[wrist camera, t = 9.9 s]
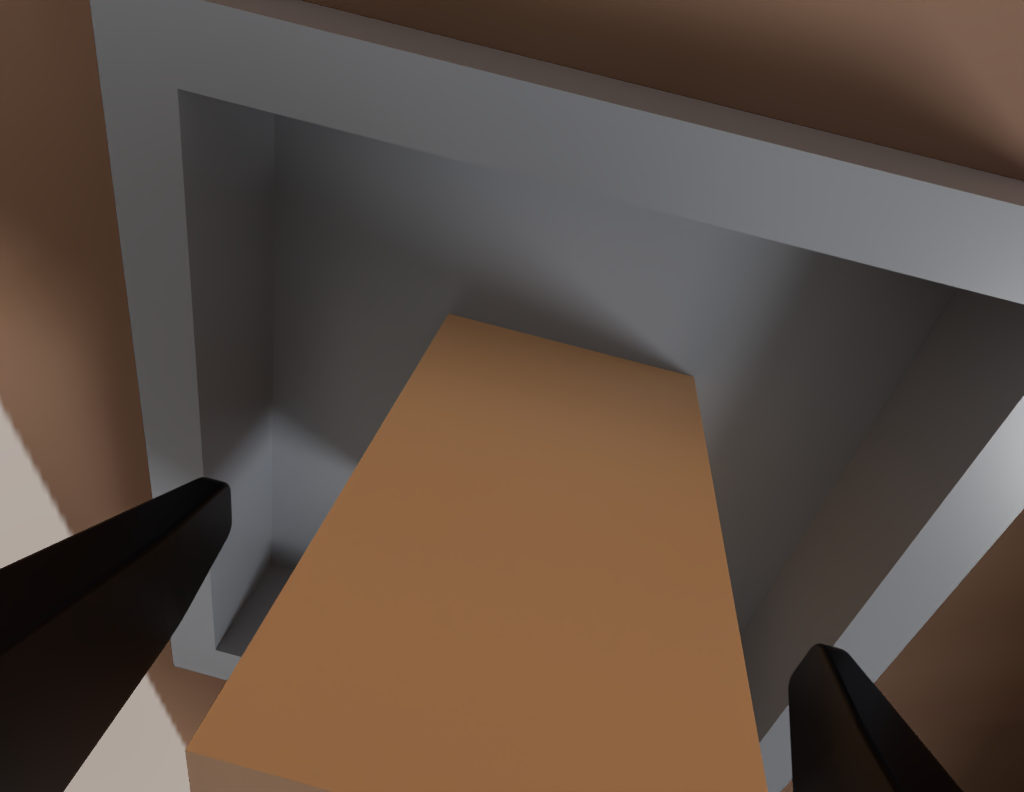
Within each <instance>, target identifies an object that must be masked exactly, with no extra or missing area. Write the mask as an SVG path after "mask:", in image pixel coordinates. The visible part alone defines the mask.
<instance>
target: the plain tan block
mask: <svg viewBox="0 0 1024 792" xmlns="http://www.w3.org/2000/svg"><path fill="white" fill-rule="evenodd" d="M185 752H186V760H187V768H188V775H189V782H190V790H191V792H768V789H767V783H766V778H765V772H764V767H763V761H762V755H761V750H760V744H759V739H758V733H757V727H756V722H755V716H754V711H753V705H752V699H751V694H750V688H749V682H748V677H747V671H746V666H745V660H744V654H743V649H742V643H741V638H740V632H739V626H738V621H737V615H736V610H735V604H734V598H733V593H732V587H731V581H730V576H729V570H728V565H727V559H726V553H725V548H724V542H723V537H722V531H721V525H720V520H719V514H718V509H717V503H716V497H715V492H714V486H713V480H712V475H711V469H710V464H709V458H708V452H707V447H706V441H705V436H704V430H703V424H702V419H701V413H700V408H699V402H698V396H697V391H696V385H695V380H694V377H693V376H689V375H685V374H681V373H677V372H673V371H669V370H665V369H662V368H658V367H654V366H650V365H646V364H642V363H638V362H634V361H631V360H627V359H623V358H619V357H615V356H611V355H607V354H603V353H599V352H596V351H592V350H588V349H584V348H580V347H576V346H572V345H568V344H565V343H561V342H557V341H553V340H549V339H545V338H541V337H537V336H534V335H530V334H526V333H522V332H518V331H514V330H510V329H506V328H502V327H499V326H495V325H491V324H487V323H483V322H479V321H475V320H471V319H468V318H464V317H460V316H456V315H452V314H448V315H447V317H446V319H445V320H444V322H443V324H442V325H441V327H440V329H439V330H438V332H437V334H436V335H435V337H434V339H433V340H432V342H431V344H430V345H429V347H428V349H427V350H426V352H425V354H424V355H423V357H422V359H421V360H420V362H419V364H418V365H417V367H416V369H415V370H414V372H413V374H412V375H411V377H410V379H409V380H408V382H407V383H406V385H405V387H404V388H403V390H402V392H401V393H400V395H399V397H398V398H397V400H396V402H395V403H394V405H393V407H392V408H391V410H390V412H389V413H388V415H387V417H386V418H385V420H384V422H383V423H382V425H381V427H380V428H379V430H378V432H377V433H376V435H375V437H374V438H373V440H372V442H371V443H370V445H369V447H368V448H367V450H366V451H365V453H364V455H363V456H362V458H361V460H360V461H359V463H358V465H357V466H356V468H355V470H354V471H353V473H352V475H351V476H350V478H349V480H348V481H347V483H346V485H345V486H344V488H343V490H342V491H341V493H340V495H339V496H338V498H337V500H336V501H335V503H334V505H333V506H332V508H331V510H330V511H329V513H328V515H327V516H326V518H325V519H324V521H323V523H322V524H321V526H320V528H319V529H318V531H317V533H316V534H315V536H314V538H313V539H312V541H311V543H310V544H309V546H308V548H307V549H306V551H305V553H304V554H303V556H302V558H301V559H300V561H299V563H298V564H297V566H296V568H295V569H294V571H293V573H292V574H291V576H290V578H289V579H288V581H287V583H286V584H285V586H284V587H283V589H282V591H281V592H280V594H279V596H278V597H277V599H276V601H275V602H274V604H273V606H272V607H271V609H270V611H269V612H268V614H267V616H266V617H265V619H264V621H263V622H262V624H261V626H260V627H259V629H258V631H257V632H256V634H255V636H254V637H253V639H252V641H251V642H250V644H249V646H248V647H247V649H246V651H245V652H244V654H243V655H242V657H241V659H240V660H239V662H238V664H237V665H236V667H235V669H234V670H233V672H232V674H231V675H230V677H229V679H228V680H227V682H226V684H225V685H224V687H223V689H222V690H221V692H220V694H219V695H218V697H217V699H216V700H215V702H214V704H213V705H212V707H211V709H210V710H209V712H208V714H207V715H206V717H205V719H204V720H203V722H202V723H201V725H200V727H199V728H198V730H197V732H196V733H195V735H194V737H193V738H192V740H191V742H190V743H189V745H188V747H187V748H186V750H185Z"/></svg>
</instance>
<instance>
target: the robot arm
mask: <svg viewBox="0 0 1024 792" xmlns="http://www.w3.org/2000/svg"><path fill="white" fill-rule="evenodd" d="M231 527H232V502H231V488H230V486H229V484H228V483H226V482H223V481H219V480H216V479H212V478H208V477H200V478H197V479H195V480H192V481H190V482H188V483H186V484H184V485H182V486H179V487H177V488H175V489H173V490H171V491H168V492H166V493H164V494H162V495H160V496H158V497H155V498H153V499H151V500H149V501H147V502H145V503H142V504H140V505H138V506H136V507H134V508H131V509H129V510H127V511H125V512H123V513H121V514H118V515H116V516H114V517H112V518H110V519H108V520H105V521H103V522H101V523H99V524H97V525H95V526H92V527H90V528H88V529H86V530H84V531H81V532H79V533H77V534H75V535H73V536H71V537H68V538H66V539H64V540H62V541H60V542H58V543H55V544H53V545H51V546H49V547H47V548H44V549H42V550H40V551H38V552H36V553H34V554H32V555H29V556H27V557H25V558H23V559H21V560H18V561H16V562H14V563H12V564H10V565H8V566H6V567H3V568H1V569H0V792H64V790H65V789H66V787H67V786H68V784H69V783H70V781H71V780H72V779H73V777H74V776H75V774H76V773H77V771H78V770H79V769H80V767H81V766H82V764H83V763H84V761H85V760H86V759H87V757H88V756H89V754H90V753H91V751H92V750H93V749H94V747H95V746H96V744H97V743H98V741H99V740H100V739H101V737H102V736H103V734H104V733H105V731H106V730H107V729H108V727H109V726H110V724H111V723H112V721H113V720H114V718H115V717H116V715H117V714H118V713H119V711H120V710H121V708H122V707H123V706H124V704H125V703H126V701H127V700H128V698H129V697H130V696H131V694H132V693H133V691H134V690H135V688H136V687H137V686H138V684H139V683H140V681H141V680H142V678H143V677H144V676H145V674H146V673H147V671H148V670H149V668H150V667H151V666H152V664H153V663H154V661H155V660H156V658H157V657H158V656H159V654H160V653H161V651H162V650H163V648H164V647H165V645H166V644H167V643H168V641H169V640H170V638H171V637H172V635H173V634H174V632H175V631H176V629H177V628H178V626H179V625H180V623H181V621H182V619H183V618H184V616H185V614H186V613H187V611H188V609H189V607H190V605H191V604H192V602H193V600H194V598H195V596H196V594H197V593H198V591H199V589H200V587H201V585H202V583H203V582H204V580H205V578H206V576H207V574H208V573H209V571H210V569H211V567H212V565H213V563H214V562H215V560H216V558H217V556H218V554H219V553H220V551H221V549H222V547H223V545H224V543H225V542H226V540H227V538H228V536H229V533H230V531H231ZM788 701H789V722H790V742H791V763H792V782H793V792H963V791H962V790H961V789H960V787H959V786H958V785H957V784H956V783H955V781H954V780H953V779H952V778H951V776H950V775H949V774H948V773H947V772H946V770H945V769H944V768H943V767H942V766H941V764H940V763H939V762H938V761H937V759H936V758H935V757H934V756H933V755H932V753H931V752H930V751H929V750H928V749H927V747H926V746H925V745H924V744H923V743H922V741H921V740H920V739H919V738H918V736H917V735H916V734H915V733H914V732H913V730H912V729H911V728H910V727H909V726H908V724H907V723H906V722H905V721H904V719H903V718H902V717H901V716H900V715H899V713H898V712H897V711H896V710H895V709H894V707H893V706H892V705H891V704H890V703H889V701H888V700H887V699H886V698H885V696H884V695H883V694H882V693H881V692H880V690H879V689H878V688H877V687H876V686H875V684H874V683H873V682H872V681H871V679H870V678H869V677H868V676H867V675H866V673H865V672H864V671H863V670H862V669H861V667H860V666H859V665H858V664H857V663H856V661H855V660H854V659H853V658H852V656H851V655H850V654H849V653H848V652H846V651H845V650H843V649H840V648H837V647H833V646H829V645H826V644H822V643H817V644H815V645H813V646H812V647H811V648H810V650H809V651H808V652H807V654H806V655H805V657H804V658H803V659H802V661H801V662H800V663H799V665H798V666H797V667H796V669H795V670H794V672H793V673H792V675H791V677H790V680H789V685H788Z"/></svg>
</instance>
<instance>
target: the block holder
mask: <svg viewBox="0 0 1024 792" xmlns="http://www.w3.org/2000/svg"><path fill="white" fill-rule="evenodd" d="M90 7H91V15H92V23H93V30H94V38H95V46H96V54H97V62H98V70H99V78H100V86H101V94H102V102H103V110H104V117H105V125H106V133H107V141H108V149H109V157H110V165H111V173H112V181H113V189H114V197H115V204H116V212H117V220H118V228H119V236H120V244H121V252H122V260H123V268H124V276H125V284H126V291H127V299H128V307H129V315H130V323H131V331H132V339H133V347H134V355H135V363H136V370H137V378H138V386H139V394H140V402H141V410H142V418H143V426H144V434H145V442H146V450H147V457H148V465H149V473H150V481H151V489H152V497H153V498H155V497H158V496H160V495H162V494H164V493H166V492H168V491H171V490H173V489H175V488H177V487H179V486H182V485H184V484H186V483H188V482H190V481H192V480H195V479H197V478H200V477H208V478H212V479H216V480H219V481H223V482H226V483H228V484H229V486H230V488H231V502H232V527H231V531H230V533H229V536H228V538H227V540H226V542H225V543H224V545H223V547H222V549H221V551H220V553H219V554H218V556H217V558H216V560H215V562H214V563H213V565H212V567H211V569H210V571H209V573H208V574H207V576H206V578H205V580H204V582H203V583H202V585H201V587H200V589H199V591H198V593H197V594H196V596H195V598H194V600H193V602H192V604H191V605H190V607H189V609H188V611H187V613H186V614H185V616H184V618H183V619H182V621H181V623H180V625H179V626H178V628H177V629H176V631H175V632H174V634H173V635H172V637H171V638H170V639H171V647H172V655H173V663H174V666H176V667H180V668H183V669H187V670H191V671H194V672H198V673H201V674H205V675H209V676H212V677H216V678H219V679H223V680H228V679H229V677H230V675H231V674H232V672H233V670H234V669H235V667H236V665H237V664H238V662H239V660H240V659H241V657H242V655H243V654H244V652H245V651H246V649H247V647H248V646H249V644H250V642H251V641H252V639H253V637H254V636H255V634H256V632H257V631H258V629H259V627H260V626H261V624H262V622H263V621H264V619H265V617H266V616H267V614H268V612H269V611H270V609H271V607H272V606H273V604H274V602H275V601H276V599H277V597H278V596H279V594H280V592H281V591H282V589H283V587H284V586H285V584H286V583H287V581H288V579H289V578H290V576H291V574H292V573H293V571H294V569H295V568H296V566H297V564H298V563H299V561H300V559H301V558H302V556H303V554H304V553H305V551H306V549H307V548H308V546H309V544H310V543H311V541H312V539H313V538H314V536H315V534H316V533H317V531H318V529H319V528H320V526H321V524H322V523H323V521H324V519H325V518H326V516H327V515H328V513H329V511H330V510H331V508H332V506H333V505H334V503H335V501H336V500H337V498H338V496H339V495H340V493H341V491H342V490H343V488H344V486H345V485H346V483H347V481H348V480H349V478H350V476H351V475H352V473H353V471H354V470H355V468H356V466H357V465H358V463H359V461H360V460H361V458H362V456H363V455H364V453H365V451H366V450H367V448H368V447H369V445H370V443H371V442H372V440H373V438H374V437H375V435H376V433H377V432H378V430H379V428H380V427H381V425H382V423H383V422H384V420H385V418H386V417H387V415H388V413H389V412H390V410H391V408H392V407H393V405H394V403H395V402H396V400H397V398H398V397H399V395H400V393H401V392H402V390H403V388H404V387H405V385H406V383H407V382H408V380H409V379H410V377H411V375H412V374H413V372H414V370H415V369H416V367H417V365H418V364H419V362H420V360H421V359H422V357H423V355H424V354H425V352H426V350H427V349H428V347H429V345H430V344H431V342H432V340H433V339H434V337H435V335H436V334H437V332H438V330H439V329H440V327H441V325H442V324H443V322H444V320H445V319H446V317H447V315H448V314H452V315H456V316H460V317H464V318H468V319H471V320H475V321H479V322H483V323H487V324H491V325H495V326H499V327H502V328H506V329H510V330H514V331H518V332H522V333H526V334H530V335H534V336H537V337H541V338H545V339H549V340H553V341H557V342H561V343H565V344H568V345H572V346H576V347H580V348H584V349H588V350H592V351H596V352H599V353H603V354H607V355H611V356H615V357H619V358H623V359H627V360H631V361H634V362H638V363H642V364H646V365H650V366H654V367H658V368H662V369H665V370H669V371H673V372H677V373H681V374H685V375H689V376H693V377H694V380H695V385H696V391H697V396H698V402H699V408H700V413H701V419H702V424H703V430H704V436H705V441H706V447H707V452H708V458H709V464H710V469H711V475H712V480H713V486H714V492H715V497H716V503H717V509H718V514H719V520H720V525H721V531H722V537H723V542H724V548H725V553H726V559H727V565H728V570H729V576H730V581H731V587H732V593H733V598H734V604H735V610H736V615H737V621H738V626H739V632H740V638H741V643H742V649H743V654H744V660H745V666H746V671H747V677H748V682H749V688H750V694H751V699H752V705H753V711H754V716H755V722H756V727H757V733H758V739H759V744H760V750H761V755H762V761H763V767H764V772H765V778H766V783H767V789H768V792H781V791H782V790H783V788H784V787H785V786H786V785H787V784H788V783H789V781H790V780H791V779H792V763H791V742H790V722H789V701H788V685H789V680H790V677H791V675H792V673H793V672H794V670H795V669H796V667H797V666H798V665H799V663H800V662H801V661H802V659H803V658H804V657H805V655H806V654H807V652H808V651H809V650H810V648H811V647H812V646H813V645H815V644H817V643H822V644H826V645H829V646H833V647H837V648H840V649H843V650H845V651H846V652H848V653H849V654H850V655H851V656H852V658H853V659H854V660H855V661H856V663H857V664H858V665H859V666H860V667H861V669H862V670H863V671H864V672H865V673H866V675H867V676H868V677H869V678H870V679H871V681H872V682H873V683H874V682H875V681H876V680H877V679H878V678H879V677H880V675H881V674H882V673H883V672H884V671H885V670H886V668H887V667H888V666H889V665H890V664H891V663H892V661H893V660H894V659H895V658H896V657H897V656H898V654H899V653H900V652H901V651H902V650H903V649H904V647H905V646H906V645H907V644H908V643H909V642H910V640H911V639H912V638H913V637H914V636H915V635H916V633H917V632H918V631H919V630H920V629H921V628H922V626H923V625H924V624H925V623H926V622H927V621H928V619H929V618H930V617H931V616H932V615H933V614H934V612H935V611H936V610H937V609H938V608H939V607H940V605H941V604H942V603H943V602H944V601H945V600H946V598H947V597H948V596H949V595H950V594H951V593H952V591H953V590H954V589H955V588H956V587H957V586H958V584H959V583H960V582H961V581H962V580H963V579H964V577H965V576H966V575H967V574H968V573H969V572H970V571H971V569H972V568H973V567H974V566H975V565H976V564H977V562H978V561H979V560H980V559H981V558H982V557H983V555H984V554H985V553H986V552H987V551H988V550H989V548H990V547H991V546H992V545H993V544H994V543H995V541H996V540H997V539H998V538H999V537H1000V536H1001V534H1002V533H1003V532H1004V531H1005V530H1006V529H1007V527H1008V526H1009V525H1010V524H1011V523H1012V522H1013V520H1014V519H1015V518H1016V517H1017V516H1018V515H1019V513H1020V512H1021V511H1022V510H1023V509H1024V181H1021V180H1017V179H1013V178H1009V177H1005V176H1001V175H997V174H993V173H989V172H985V171H981V170H977V169H973V168H969V167H965V166H961V165H957V164H953V163H949V162H945V161H941V160H937V159H933V158H929V157H925V156H921V155H917V154H913V153H909V152H905V151H901V150H897V149H893V148H889V147H885V146H881V145H877V144H873V143H869V142H865V141H861V140H857V139H853V138H849V137H845V136H841V135H837V134H833V133H829V132H825V131H821V130H817V129H813V128H809V127H805V126H801V125H797V124H793V123H789V122H785V121H781V120H777V119H773V118H769V117H765V116H761V115H757V114H753V113H749V112H745V111H741V110H737V109H733V108H729V107H725V106H721V105H717V104H713V103H709V102H705V101H701V100H697V99H693V98H689V97H685V96H681V95H677V94H673V93H669V92H665V91H661V90H657V89H653V88H649V87H645V86H641V85H637V84H633V83H629V82H625V81H621V80H617V79H613V78H609V77H605V76H601V75H597V74H593V73H589V72H585V71H581V70H577V69H573V68H569V67H565V66H561V65H557V64H553V63H549V62H545V61H541V60H537V59H533V58H529V57H525V56H521V55H517V54H513V53H509V52H505V51H501V50H497V49H493V48H489V47H485V46H481V45H477V44H473V43H469V42H465V41H461V40H457V39H453V38H449V37H445V36H441V35H437V34H433V33H429V32H425V31H421V30H417V29H413V28H409V27H405V26H401V25H397V24H393V23H389V22H385V21H381V20H377V19H373V18H369V17H365V16H361V15H357V14H353V13H349V12H345V11H341V10H337V9H333V8H329V7H325V6H321V5H317V4H313V3H309V2H305V1H301V0H90Z"/></svg>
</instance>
